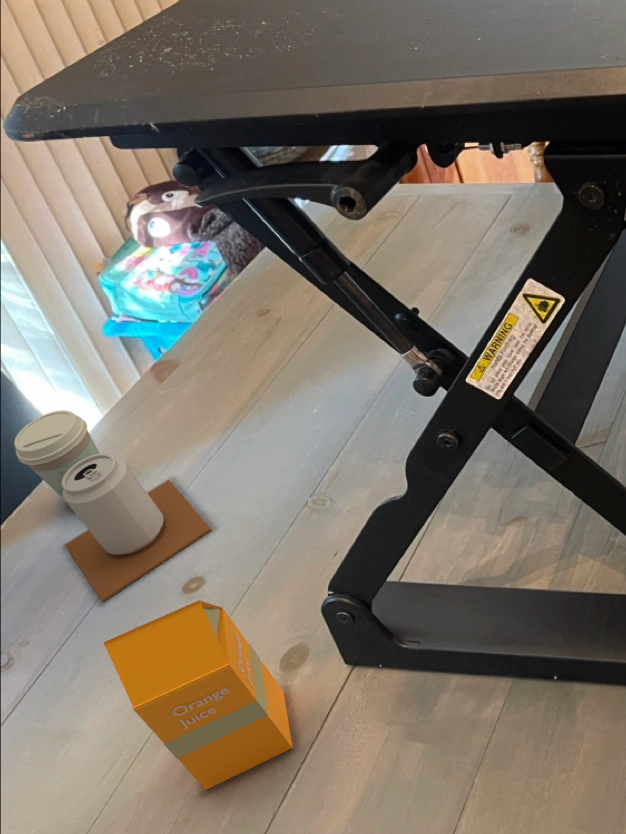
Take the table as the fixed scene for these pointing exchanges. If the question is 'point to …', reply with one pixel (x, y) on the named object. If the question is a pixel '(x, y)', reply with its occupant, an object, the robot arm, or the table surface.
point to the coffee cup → (54, 446)
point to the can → (112, 503)
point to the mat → (125, 569)
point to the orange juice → (203, 692)
